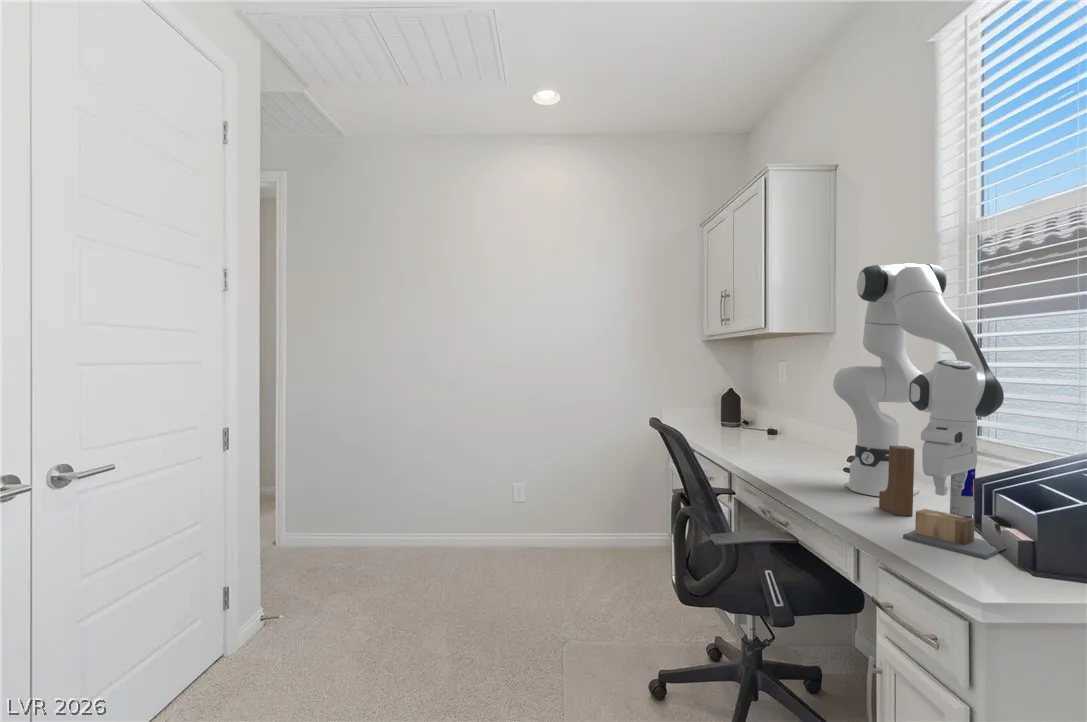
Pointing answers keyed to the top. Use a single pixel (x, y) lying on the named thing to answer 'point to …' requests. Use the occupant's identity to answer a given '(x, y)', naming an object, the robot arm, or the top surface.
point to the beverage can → (962, 496)
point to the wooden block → (899, 482)
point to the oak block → (945, 526)
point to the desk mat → (956, 545)
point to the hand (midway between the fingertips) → (949, 492)
